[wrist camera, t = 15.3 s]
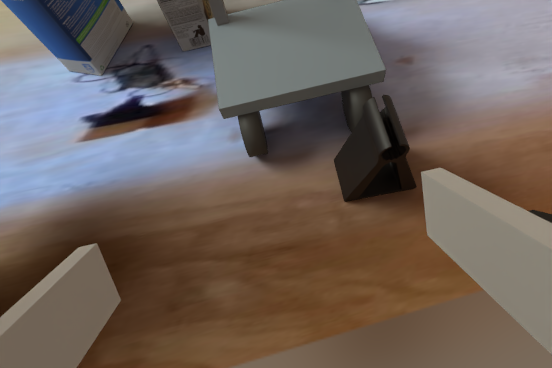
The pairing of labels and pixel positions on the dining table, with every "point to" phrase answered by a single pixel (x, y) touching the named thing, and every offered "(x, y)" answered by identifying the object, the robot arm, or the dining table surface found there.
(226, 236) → the dining table surface
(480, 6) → the dining table surface
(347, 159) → the phone stand
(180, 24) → the coffee box
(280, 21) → the trolley
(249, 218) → the dining table surface
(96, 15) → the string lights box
